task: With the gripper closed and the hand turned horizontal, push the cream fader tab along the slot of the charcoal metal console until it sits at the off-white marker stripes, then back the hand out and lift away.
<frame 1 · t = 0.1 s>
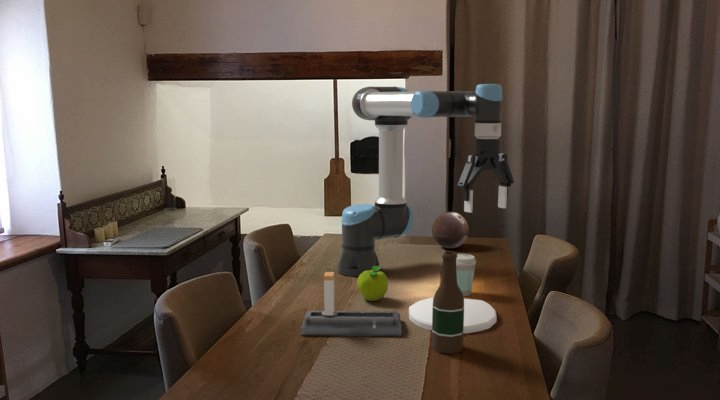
hand: (485, 209, 188), 28 cm above the table, tool pointing down, fingers open, 13 cm apart
wooden sphere: (449, 248, 262), on the table
fader: (329, 296, 169), point 8 cm above the table, slide at -6.0 cm
fruit: (372, 300, 194), on the table
decorative plate: (451, 319, 179), on the table
beer bottle: (447, 349, 156), on the table
coffee cup: (461, 294, 200), on the table
fader console: (351, 327, 170), on the table
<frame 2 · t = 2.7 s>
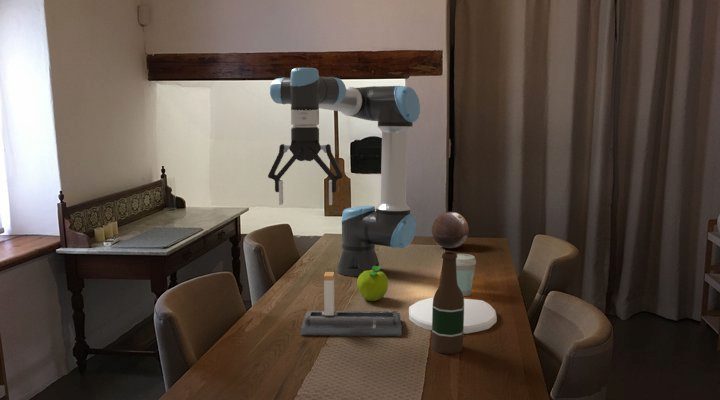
hand: (305, 204, 175), 32 cm above the table, tool pointing down, fingers open, 13 cm apart
nothing on the table moved.
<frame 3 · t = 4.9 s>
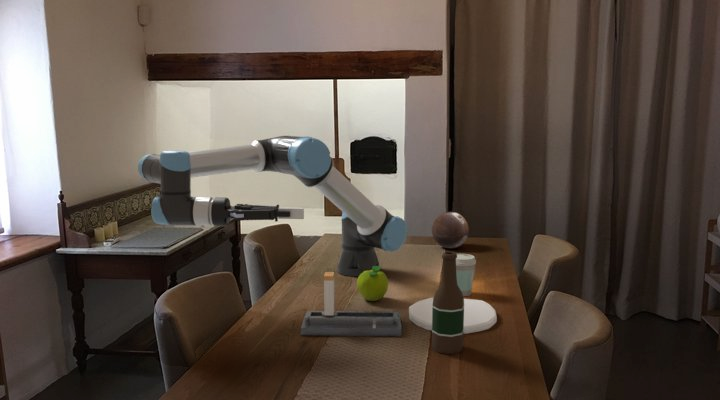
hand: (303, 213, 166), 31 cm above the table, tool horizontal, fingers closed
nothing on the table moved.
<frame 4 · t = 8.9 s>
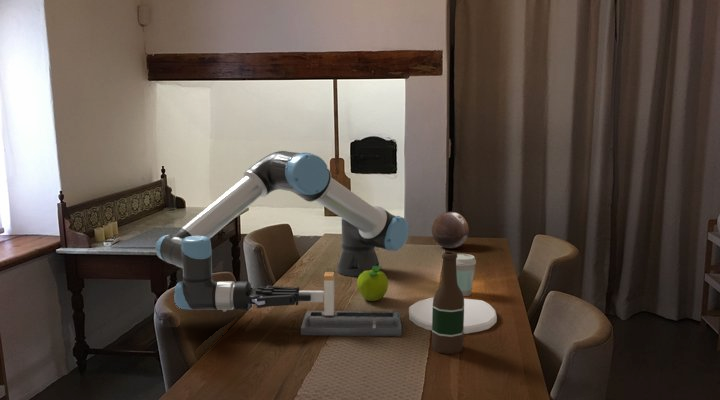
hand: (323, 296, 168), 9 cm above the table, tool horizontal, fingers closed
fader: (329, 296, 169), point 8 cm above the table, slide at -6.0 cm, touching gripper
everything else where it was.
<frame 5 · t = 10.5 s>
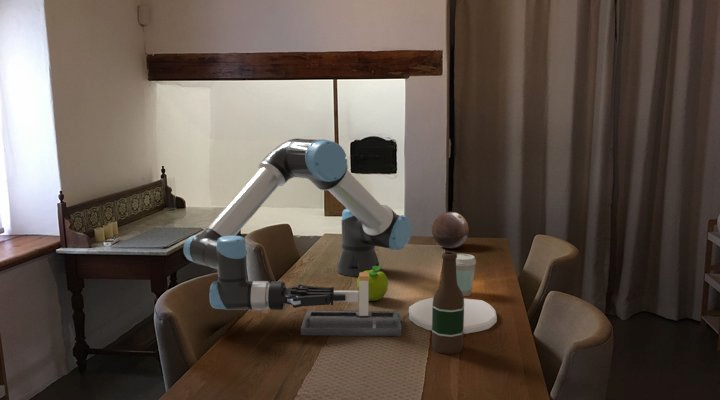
hand: (358, 296, 168), 9 cm above the table, tool horizontal, fingers closed
fader: (363, 296, 169), point 8 cm above the table, slide at 3.2 cm, touching gripper
everything else where it was.
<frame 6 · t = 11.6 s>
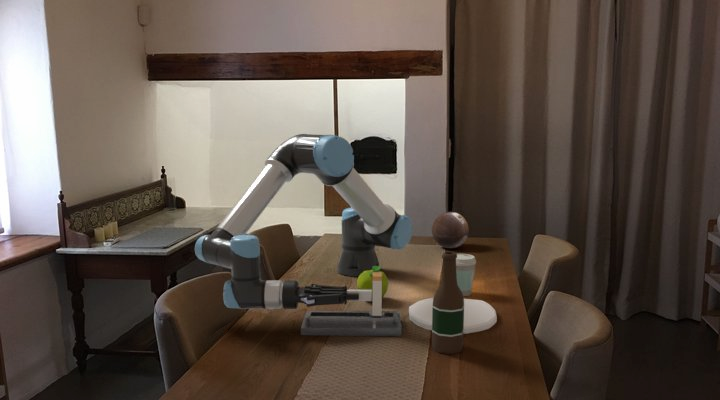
hand: (371, 295, 169), 9 cm above the table, tool horizontal, fingers closed
fader: (377, 296, 169), point 8 cm above the table, slide at 6.7 cm, touching gripper
everything else where it was.
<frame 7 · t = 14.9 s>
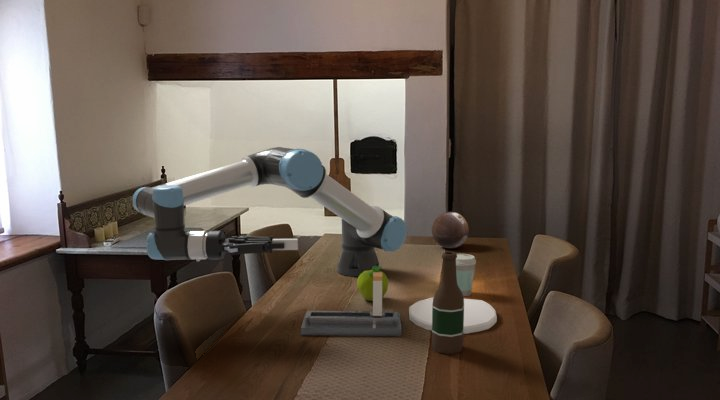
hand: (297, 244, 166), 23 cm above the table, tool horizontal, fingers closed
fader: (377, 296, 169), point 8 cm above the table, slide at 6.8 cm
everything else where it was.
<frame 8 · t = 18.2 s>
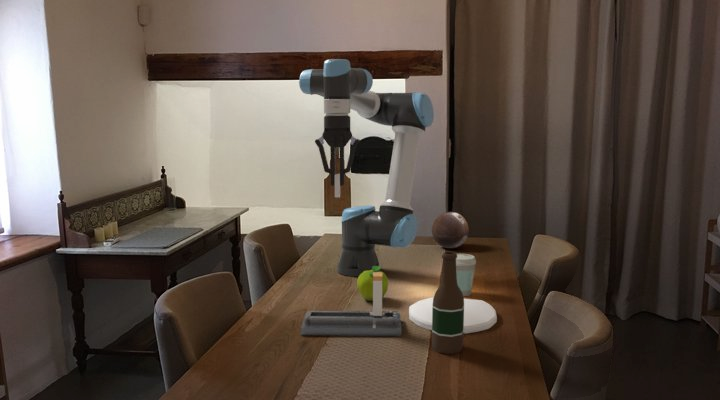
hand: (337, 196, 185), 32 cm above the table, tool pointing down, fingers closed
nothing on the table moved.
at the end: fader slide at 6.8 cm; the gripper is holding nothing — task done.
